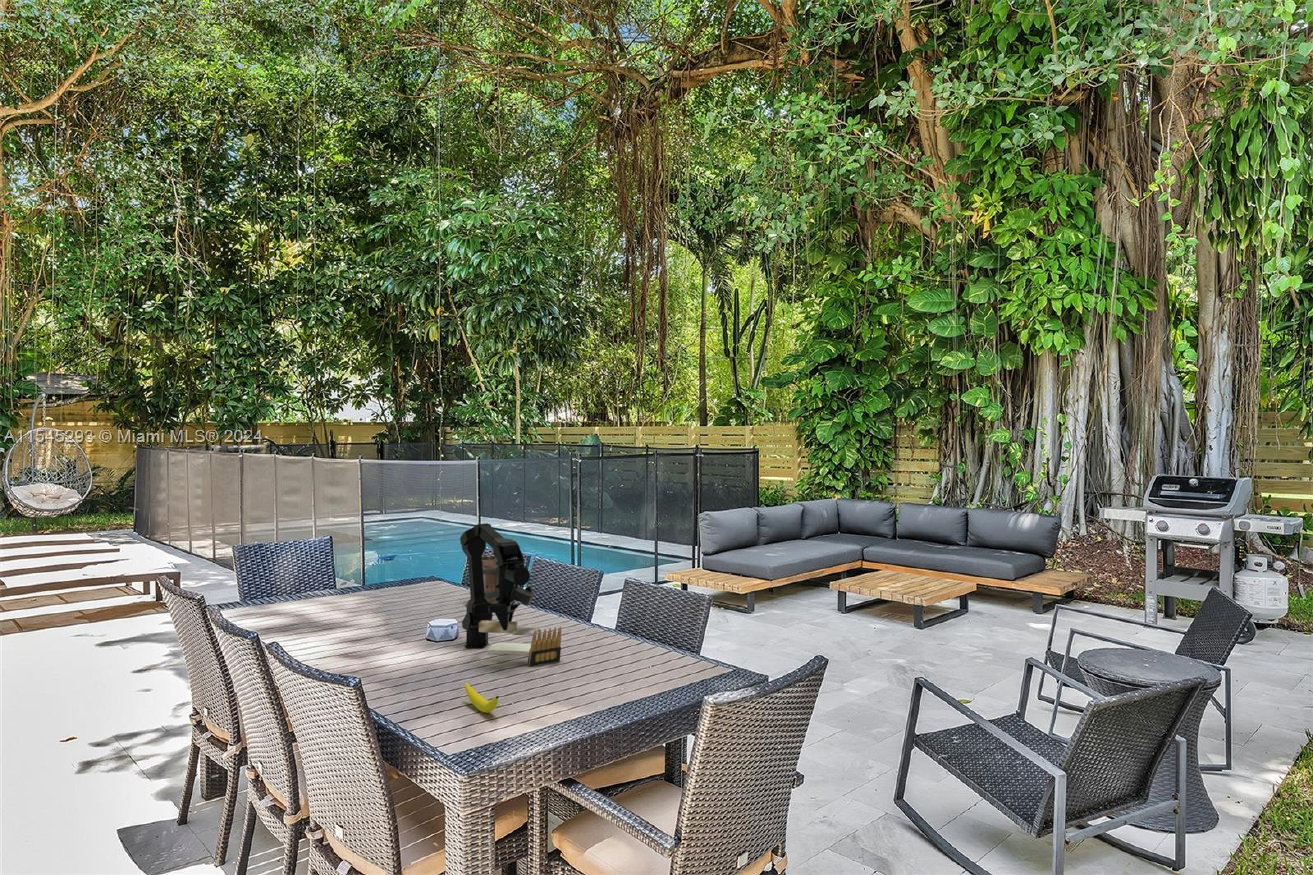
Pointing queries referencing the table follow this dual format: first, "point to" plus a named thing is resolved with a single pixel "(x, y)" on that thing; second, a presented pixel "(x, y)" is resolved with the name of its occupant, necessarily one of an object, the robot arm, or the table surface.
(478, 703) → the banana
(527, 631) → the turner
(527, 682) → the table surface
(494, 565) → the tankard
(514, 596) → the robot arm
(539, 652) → the ammunition clip
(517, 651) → the board
